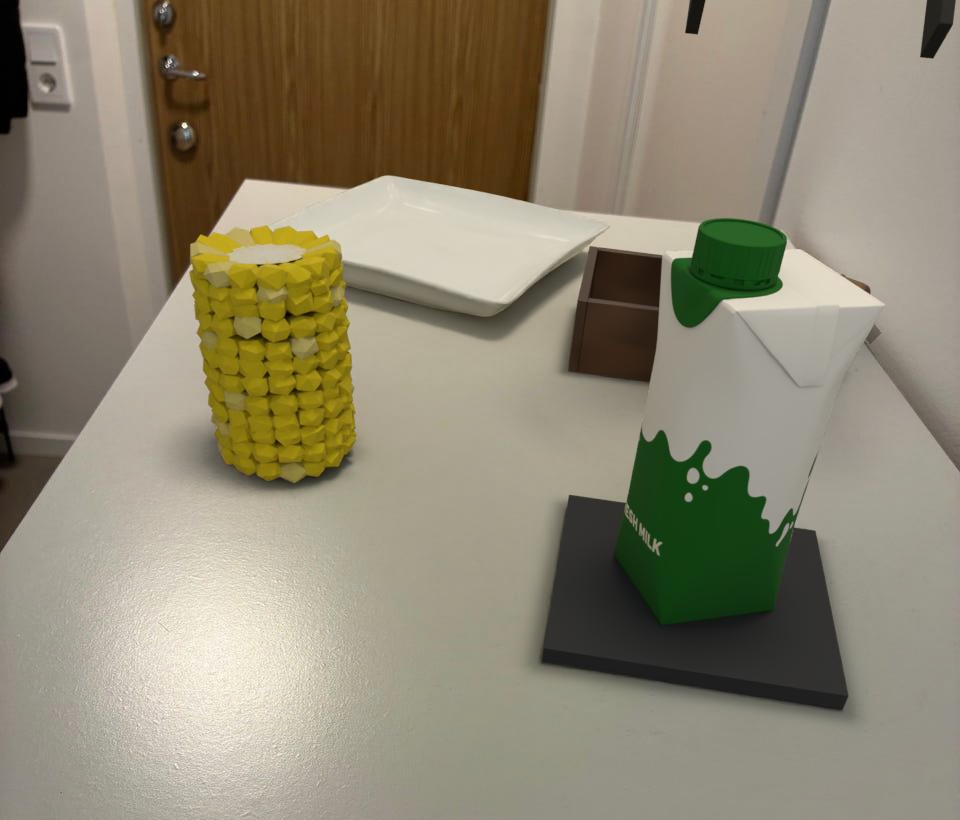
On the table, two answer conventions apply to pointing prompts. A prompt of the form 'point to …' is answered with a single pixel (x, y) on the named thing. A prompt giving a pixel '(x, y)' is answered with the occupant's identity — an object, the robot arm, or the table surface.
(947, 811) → the table surface
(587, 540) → the mat
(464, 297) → the square plate
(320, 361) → the food
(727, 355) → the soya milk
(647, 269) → the crate
